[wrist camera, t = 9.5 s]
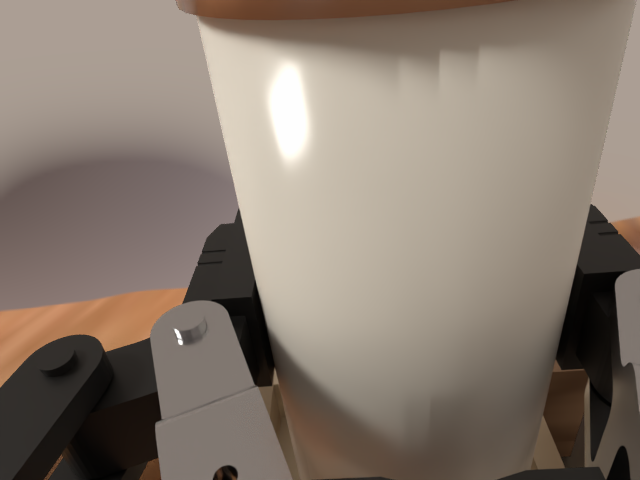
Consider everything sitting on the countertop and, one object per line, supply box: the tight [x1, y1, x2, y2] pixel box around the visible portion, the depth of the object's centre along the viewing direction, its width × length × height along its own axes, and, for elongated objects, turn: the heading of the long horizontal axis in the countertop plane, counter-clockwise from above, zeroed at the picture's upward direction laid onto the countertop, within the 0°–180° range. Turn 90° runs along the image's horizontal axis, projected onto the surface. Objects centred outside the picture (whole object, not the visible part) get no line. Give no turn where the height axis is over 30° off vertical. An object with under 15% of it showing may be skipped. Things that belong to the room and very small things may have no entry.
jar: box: [176, 0, 636, 480], centre depth 10 cm, size 6×6×15 cm
